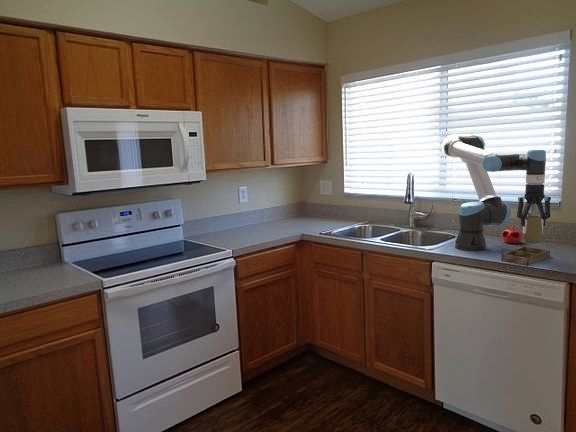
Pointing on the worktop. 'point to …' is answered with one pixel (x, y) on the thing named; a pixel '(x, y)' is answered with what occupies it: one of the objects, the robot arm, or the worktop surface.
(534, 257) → the organizer
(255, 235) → the worktop surface
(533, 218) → the squeeze bottle
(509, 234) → the pomegranate
